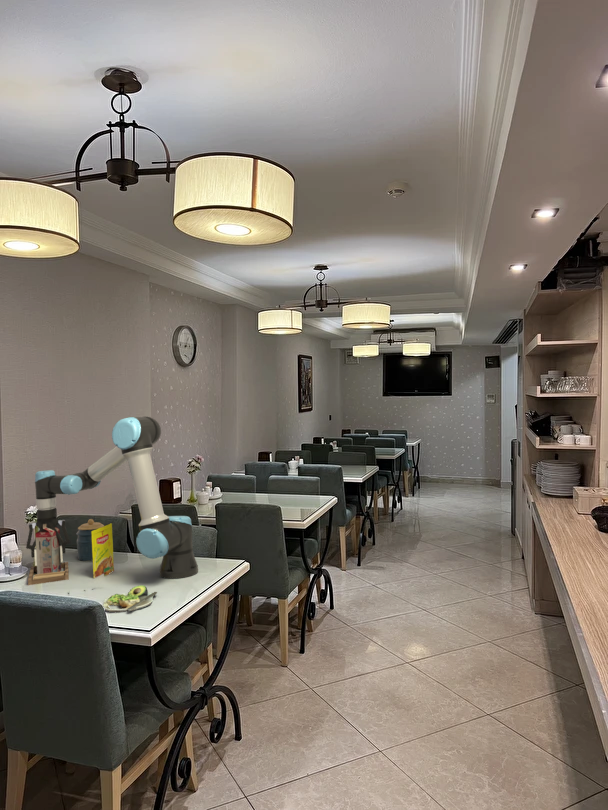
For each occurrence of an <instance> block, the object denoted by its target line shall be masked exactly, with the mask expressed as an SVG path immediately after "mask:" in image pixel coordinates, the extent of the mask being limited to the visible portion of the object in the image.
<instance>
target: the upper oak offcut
mask: <svg viewBox="0 0 608 810" xmlns="http://www.w3.org/2000/svg"><path fill="white" fill-rule="evenodd" d="M62 575H65V570H64V571H62V570H61V571H60V572H52V573H44V574H35V573H34V576H33V580H34V579H41V578H48V577H55V576H62Z"/></svg>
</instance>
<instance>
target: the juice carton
mask: <svg viewBox="0 0 608 810" xmlns="http://www.w3.org/2000/svg"><path fill="white" fill-rule="evenodd" d="M55 529H56V530H57V531H58V533H59V534H60V533H61V532H60V531H61V530H60V528H58V527H57V526H56V528H55ZM41 530H42V529H41ZM60 535H61V534H60ZM35 538H36V546H35V548H36V554H37V572H36V573H37V574H44V573H52V572H61V571H62V568H61V563H62V562H61V555H60V545H61V543H60V541H59V540H58V538H57V536H56V532H55V531H54V530H52V529H49V528H46V524H45V525H43V531H41V532H39V530H38V531H37V532H35Z"/></svg>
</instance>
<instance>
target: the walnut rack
mask: <svg viewBox="0 0 608 810" xmlns="http://www.w3.org/2000/svg"><path fill="white" fill-rule="evenodd" d="M61 569H64V571H65V575H62V576H55V577H48V578H41V579H34V580H33V577H34V576H35V573H37V566H35V565H34V566H30V569H29V573H28V578H27V584H28V585H27V586H33V585H34V586H35V585H40V584H46V583H55V582H61V581H68V580H69V562H68V561H65V562H64V561H63V562H61ZM69 581H70V580H69Z"/></svg>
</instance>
